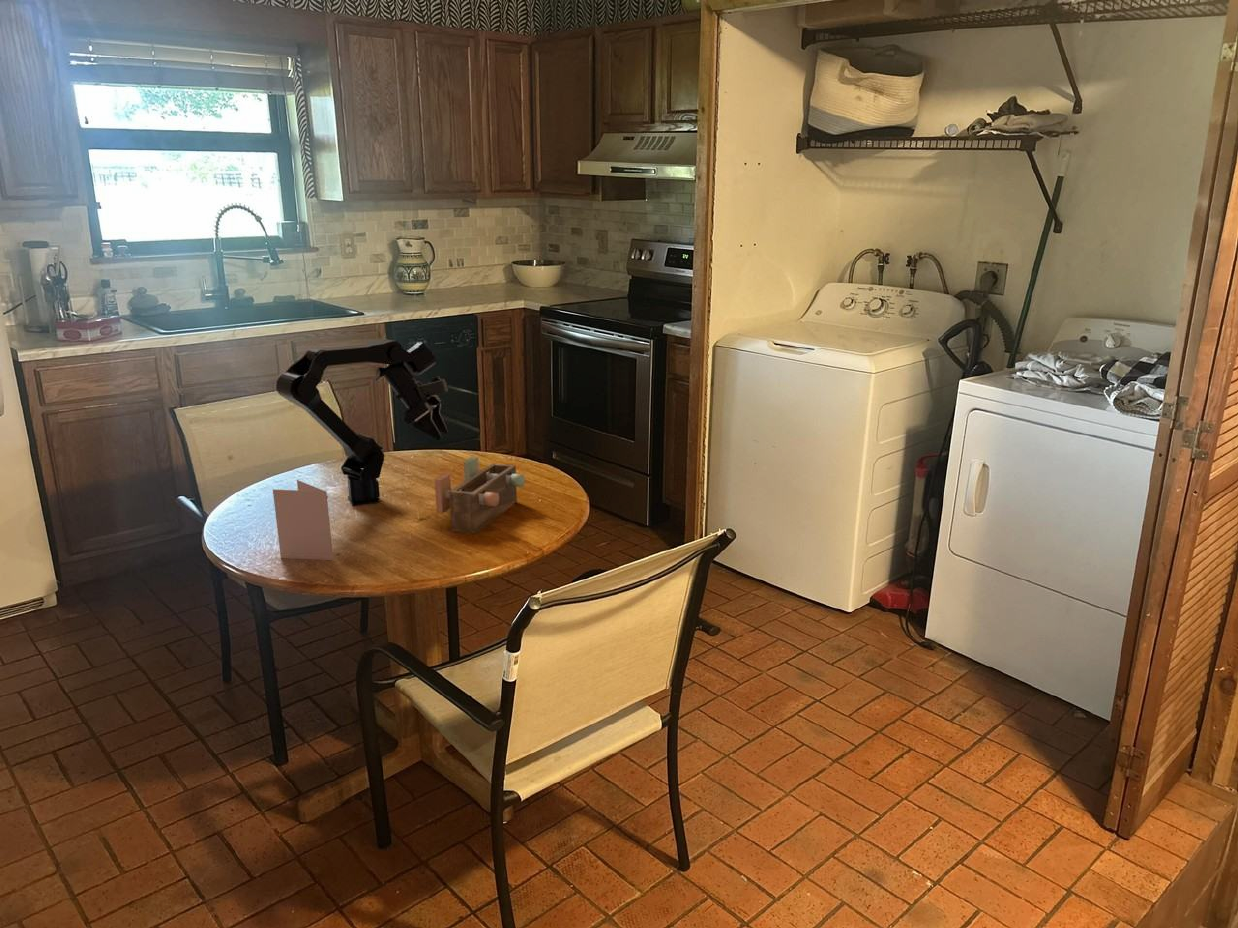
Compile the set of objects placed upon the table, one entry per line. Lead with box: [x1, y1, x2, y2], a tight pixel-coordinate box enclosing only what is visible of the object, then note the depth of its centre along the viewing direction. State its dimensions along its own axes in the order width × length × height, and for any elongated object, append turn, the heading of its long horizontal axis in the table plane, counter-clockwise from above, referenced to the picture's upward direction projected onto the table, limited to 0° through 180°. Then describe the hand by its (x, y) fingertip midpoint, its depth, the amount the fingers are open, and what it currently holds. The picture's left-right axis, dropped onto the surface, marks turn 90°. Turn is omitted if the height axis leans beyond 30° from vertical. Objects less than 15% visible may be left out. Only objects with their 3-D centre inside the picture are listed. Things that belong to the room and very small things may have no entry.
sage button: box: [463, 456, 526, 488], centre depth 219 cm, size 14×4×8 cm, turn 71°
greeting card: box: [272, 479, 334, 561], centre depth 189 cm, size 11×7×15 cm, turn 48°
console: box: [449, 463, 518, 534], centre depth 213 cm, size 6×22×9 cm, turn 162°
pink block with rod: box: [434, 473, 499, 515], centre depth 206 cm, size 14×4×8 cm, turn 72°
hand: (443, 436), depth 228 cm, fingers open, 9 cm apart
